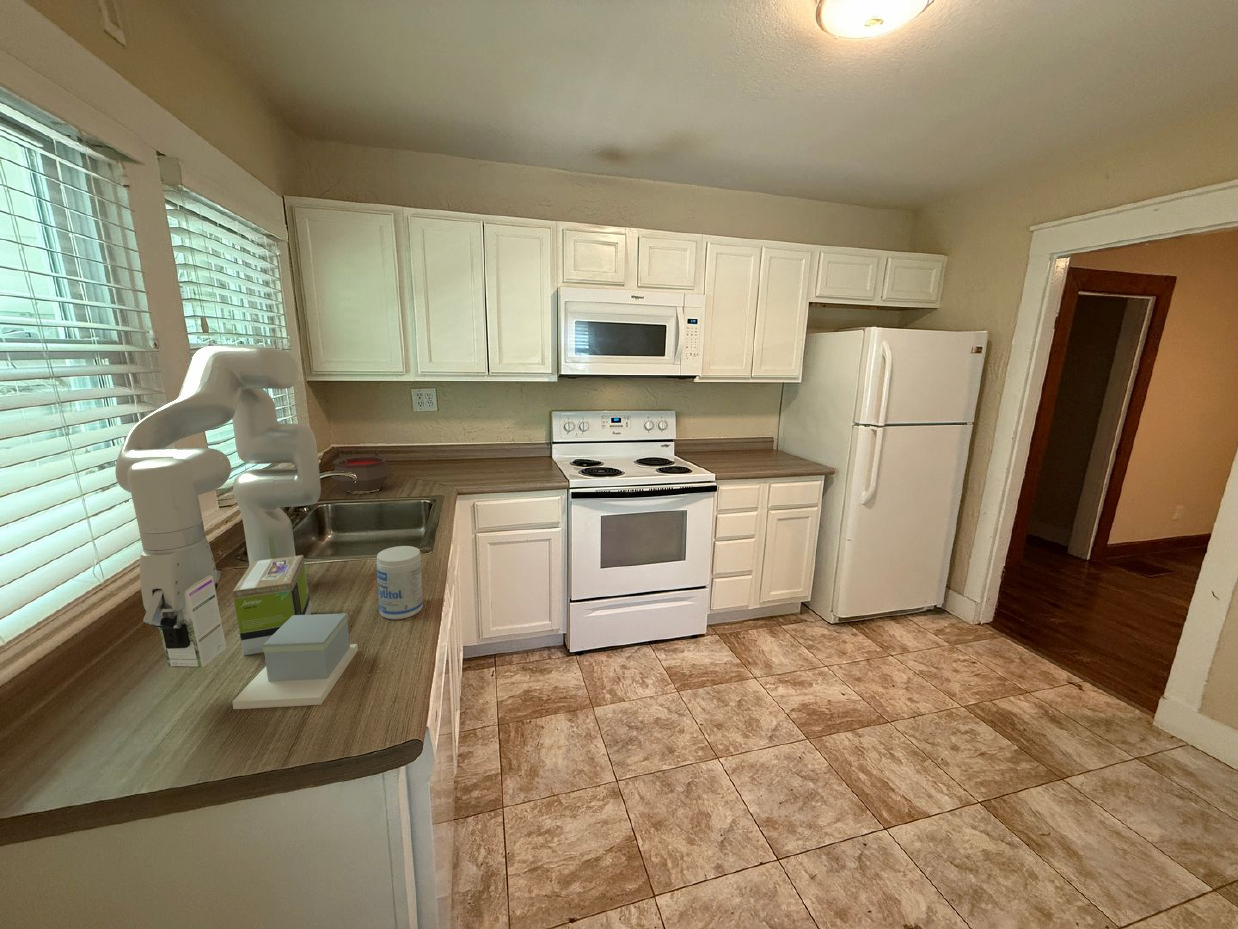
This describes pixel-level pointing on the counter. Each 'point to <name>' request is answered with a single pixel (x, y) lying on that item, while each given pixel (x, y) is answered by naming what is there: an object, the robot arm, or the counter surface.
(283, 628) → the stand
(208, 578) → the syrup box
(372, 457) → the dark round pot
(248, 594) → the tea box
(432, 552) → the counter surface
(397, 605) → the supplement tub
